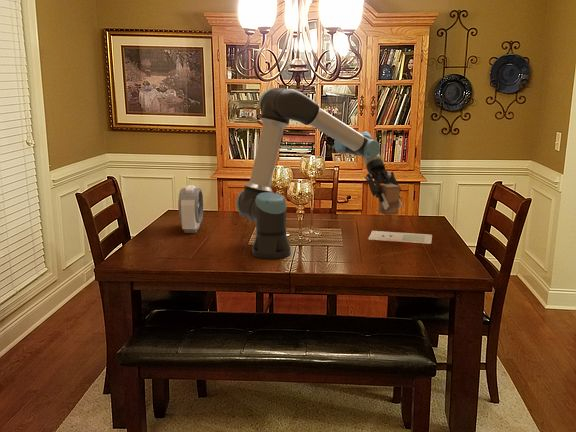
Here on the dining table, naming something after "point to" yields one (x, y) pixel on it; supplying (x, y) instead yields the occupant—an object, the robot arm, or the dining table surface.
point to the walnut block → (390, 199)
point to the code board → (400, 237)
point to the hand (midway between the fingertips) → (393, 207)
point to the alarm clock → (190, 208)
